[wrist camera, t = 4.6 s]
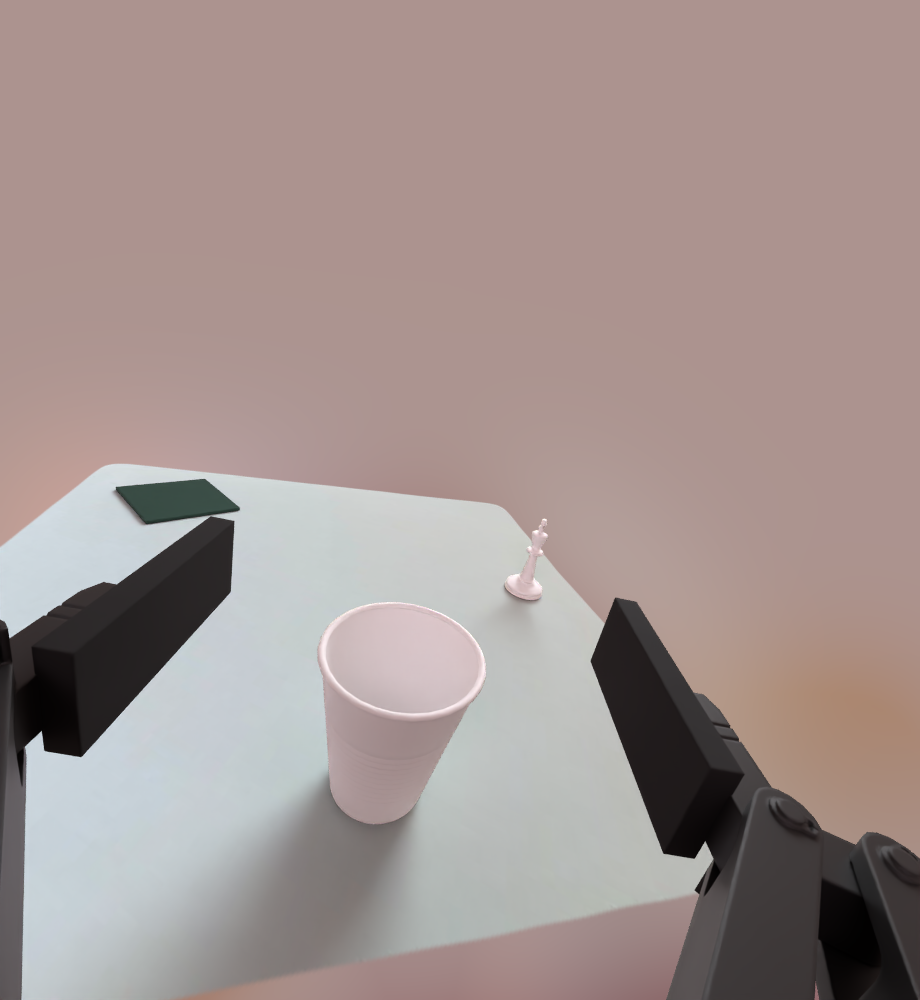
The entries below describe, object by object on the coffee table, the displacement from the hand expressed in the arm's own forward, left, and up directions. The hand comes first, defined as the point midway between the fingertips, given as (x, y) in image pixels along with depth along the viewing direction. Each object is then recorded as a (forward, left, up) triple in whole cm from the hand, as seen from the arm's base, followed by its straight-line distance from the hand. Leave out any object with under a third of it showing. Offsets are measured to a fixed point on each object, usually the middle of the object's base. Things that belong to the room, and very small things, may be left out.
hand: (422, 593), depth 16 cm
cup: (+7, +6, -21) cm, 22 cm away
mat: (+12, +53, -20) cm, 58 cm away
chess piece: (+38, +14, -21) cm, 46 cm away
